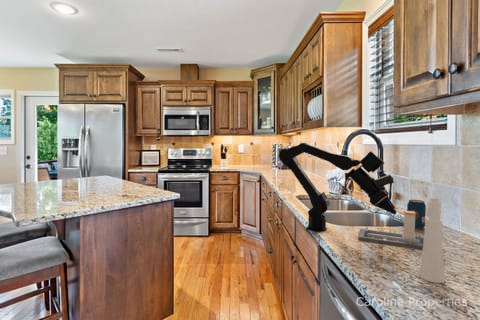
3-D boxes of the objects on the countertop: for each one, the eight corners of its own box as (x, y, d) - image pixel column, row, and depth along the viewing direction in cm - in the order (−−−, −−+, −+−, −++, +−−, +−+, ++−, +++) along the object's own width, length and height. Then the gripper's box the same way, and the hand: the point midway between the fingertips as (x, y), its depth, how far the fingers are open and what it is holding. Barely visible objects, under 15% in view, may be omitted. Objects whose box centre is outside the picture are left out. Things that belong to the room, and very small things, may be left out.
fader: (402, 239, 101) (403, 212, 101) (401, 236, 105) (402, 210, 104) (416, 241, 99) (417, 213, 99) (414, 238, 103) (416, 211, 102)
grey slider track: (358, 239, 104) (358, 232, 104) (360, 231, 115) (360, 224, 115) (434, 251, 94) (434, 242, 93) (428, 240, 104) (428, 232, 104)
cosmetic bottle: (413, 275, 76) (416, 196, 75) (427, 271, 78) (430, 195, 77) (436, 285, 70) (439, 200, 69) (450, 280, 73) (454, 199, 72)
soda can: (402, 226, 123) (403, 200, 123) (412, 224, 126) (413, 198, 126) (418, 230, 117) (419, 202, 116) (428, 228, 120) (429, 201, 119)
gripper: (380, 168, 97) (416, 201, 93) (380, 165, 114) (410, 193, 109) (356, 188, 101) (389, 221, 96) (359, 183, 118) (387, 211, 113)
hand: (394, 211), depth 104 cm, fingers open, 9 cm apart
